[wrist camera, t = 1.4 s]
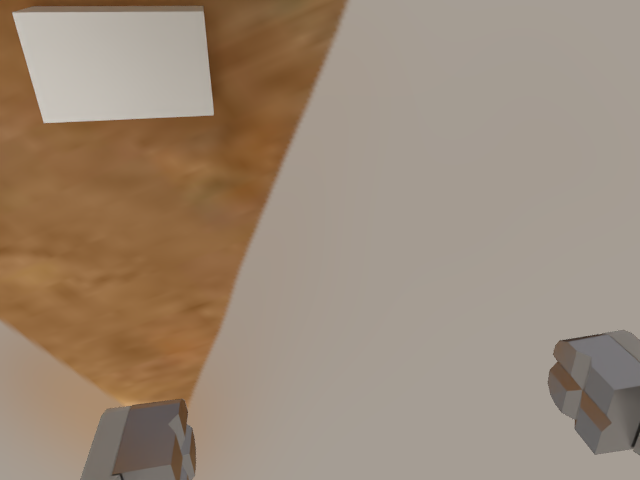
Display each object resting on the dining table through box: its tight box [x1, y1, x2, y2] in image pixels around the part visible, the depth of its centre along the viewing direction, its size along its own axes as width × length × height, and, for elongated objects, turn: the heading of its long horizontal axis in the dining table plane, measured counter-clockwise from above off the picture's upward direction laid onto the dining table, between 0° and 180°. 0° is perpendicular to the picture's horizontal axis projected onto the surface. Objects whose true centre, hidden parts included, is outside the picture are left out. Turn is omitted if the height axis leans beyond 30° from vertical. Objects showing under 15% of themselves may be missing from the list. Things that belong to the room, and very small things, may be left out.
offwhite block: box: [12, 6, 214, 123], centre depth 30 cm, size 6×10×4 cm, turn 89°
